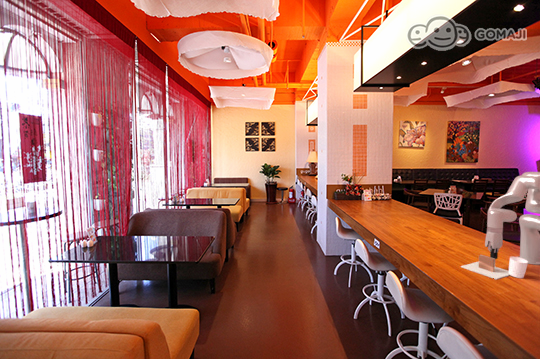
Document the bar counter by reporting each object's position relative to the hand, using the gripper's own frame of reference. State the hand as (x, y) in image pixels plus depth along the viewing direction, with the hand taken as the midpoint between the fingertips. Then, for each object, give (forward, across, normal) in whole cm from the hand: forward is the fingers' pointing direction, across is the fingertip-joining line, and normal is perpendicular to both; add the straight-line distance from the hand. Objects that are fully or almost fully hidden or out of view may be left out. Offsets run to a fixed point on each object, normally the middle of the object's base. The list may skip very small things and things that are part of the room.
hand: (493, 258), depth 169 cm
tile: (+6, +7, 0) cm, 9 cm away
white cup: (+6, +1, +12) cm, 14 cm away
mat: (+7, +7, 0) cm, 9 cm away
